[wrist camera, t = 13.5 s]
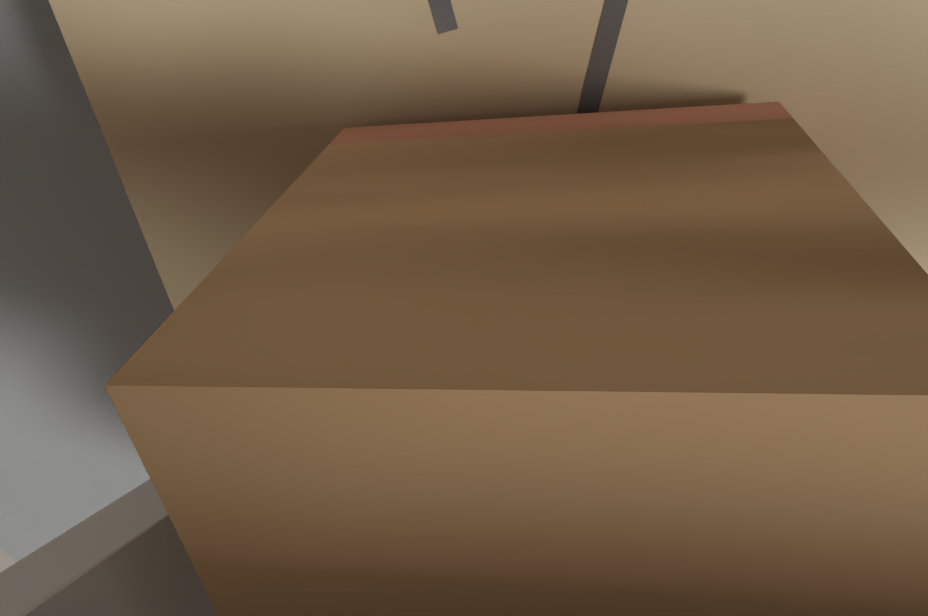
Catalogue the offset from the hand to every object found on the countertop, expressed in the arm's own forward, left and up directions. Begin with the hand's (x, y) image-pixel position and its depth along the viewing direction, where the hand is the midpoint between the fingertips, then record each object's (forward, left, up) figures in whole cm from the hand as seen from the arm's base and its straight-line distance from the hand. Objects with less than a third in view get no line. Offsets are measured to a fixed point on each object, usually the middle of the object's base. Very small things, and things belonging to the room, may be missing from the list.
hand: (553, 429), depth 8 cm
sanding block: (+1, 0, -2) cm, 2 cm away
